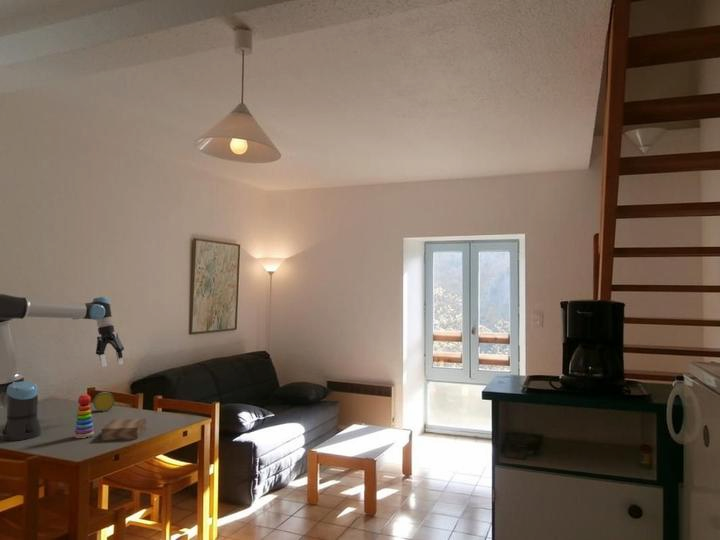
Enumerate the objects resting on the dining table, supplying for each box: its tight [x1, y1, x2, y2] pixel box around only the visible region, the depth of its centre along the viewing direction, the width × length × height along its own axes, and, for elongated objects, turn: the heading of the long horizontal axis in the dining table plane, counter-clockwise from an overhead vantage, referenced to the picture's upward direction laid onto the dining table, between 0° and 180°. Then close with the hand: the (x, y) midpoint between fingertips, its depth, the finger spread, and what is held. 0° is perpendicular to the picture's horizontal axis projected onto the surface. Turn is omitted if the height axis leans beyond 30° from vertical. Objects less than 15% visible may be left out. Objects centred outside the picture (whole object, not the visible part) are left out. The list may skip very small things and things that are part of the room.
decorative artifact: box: [92, 391, 115, 412], centre depth 282 cm, size 10×7×10 cm
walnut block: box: [100, 418, 147, 441], centre depth 237 cm, size 15×15×5 cm
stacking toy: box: [73, 393, 95, 439], centre depth 234 cm, size 8×8×19 cm
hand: (112, 365), depth 275 cm, fingers open, 13 cm apart
